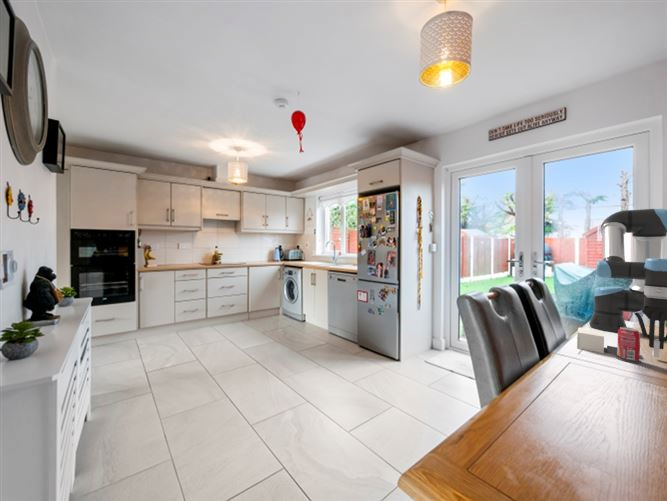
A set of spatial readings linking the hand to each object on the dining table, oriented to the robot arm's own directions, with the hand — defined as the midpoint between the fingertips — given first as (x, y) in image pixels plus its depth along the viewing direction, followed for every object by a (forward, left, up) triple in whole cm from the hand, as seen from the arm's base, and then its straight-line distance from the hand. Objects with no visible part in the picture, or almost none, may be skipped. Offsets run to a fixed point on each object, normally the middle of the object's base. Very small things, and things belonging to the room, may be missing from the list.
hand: (655, 356), depth 115 cm
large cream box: (0, -19, -1) cm, 20 cm away
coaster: (+8, -8, -1) cm, 12 cm away
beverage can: (+8, -8, -1) cm, 12 cm away
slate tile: (0, -9, -2) cm, 10 cm away
